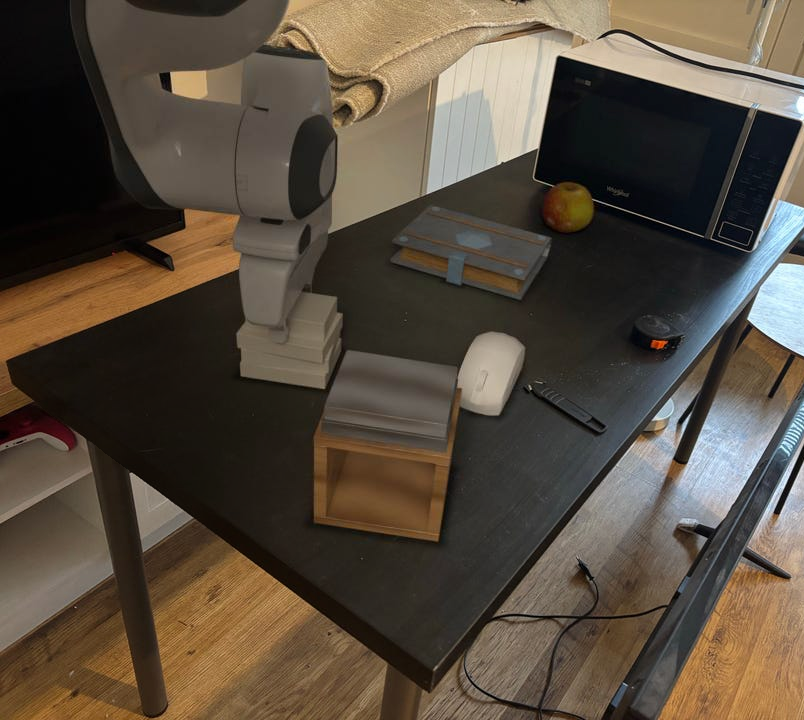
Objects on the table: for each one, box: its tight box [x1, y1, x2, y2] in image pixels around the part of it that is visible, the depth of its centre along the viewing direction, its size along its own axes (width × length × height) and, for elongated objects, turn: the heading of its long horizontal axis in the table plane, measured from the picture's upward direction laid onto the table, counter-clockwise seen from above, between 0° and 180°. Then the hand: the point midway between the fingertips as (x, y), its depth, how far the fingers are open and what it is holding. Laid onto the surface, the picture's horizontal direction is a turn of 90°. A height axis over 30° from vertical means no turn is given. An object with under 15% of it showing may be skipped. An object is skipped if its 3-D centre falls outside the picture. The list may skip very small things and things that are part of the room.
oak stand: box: [313, 349, 462, 543], centre depth 70 cm, size 10×12×14 cm
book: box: [389, 204, 552, 301], centre depth 115 cm, size 21×16×5 cm
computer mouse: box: [456, 330, 526, 416], centre depth 90 cm, size 6×13×6 cm, turn 163°
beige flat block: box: [244, 292, 338, 342], centre depth 85 cm, size 6×9×2 cm, turn 85°
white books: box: [235, 312, 344, 390], centre depth 88 cm, size 9×10×6 cm
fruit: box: [541, 181, 595, 234], centre depth 129 cm, size 10×9×8 cm
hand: (291, 317), depth 86 cm, fingers open, 8 cm apart
